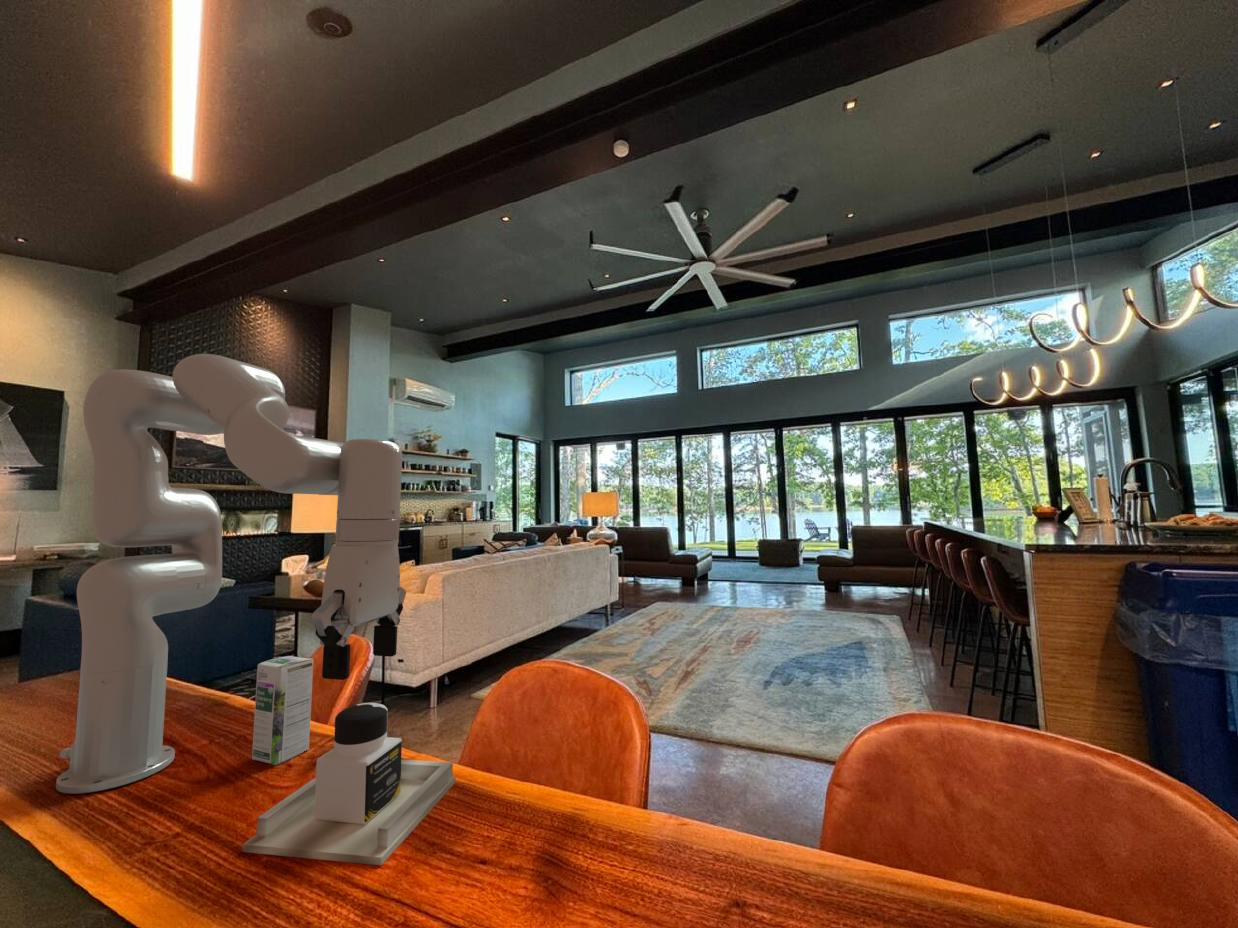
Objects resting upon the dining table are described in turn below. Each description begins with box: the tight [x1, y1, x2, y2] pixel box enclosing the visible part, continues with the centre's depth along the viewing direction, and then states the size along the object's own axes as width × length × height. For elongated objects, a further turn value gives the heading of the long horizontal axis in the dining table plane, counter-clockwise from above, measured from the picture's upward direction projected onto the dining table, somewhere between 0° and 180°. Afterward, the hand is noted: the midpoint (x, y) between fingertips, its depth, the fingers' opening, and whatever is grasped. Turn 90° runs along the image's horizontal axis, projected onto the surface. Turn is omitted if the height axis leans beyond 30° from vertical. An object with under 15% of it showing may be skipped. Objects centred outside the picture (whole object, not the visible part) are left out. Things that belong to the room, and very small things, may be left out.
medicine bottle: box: [314, 702, 403, 825], centre depth 65 cm, size 7×7×12 cm
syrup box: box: [251, 655, 314, 766], centre depth 82 cm, size 6×6×14 cm
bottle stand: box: [242, 758, 457, 866], centre depth 65 cm, size 17×17×3 cm
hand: (361, 666), depth 67 cm, fingers open, 9 cm apart
